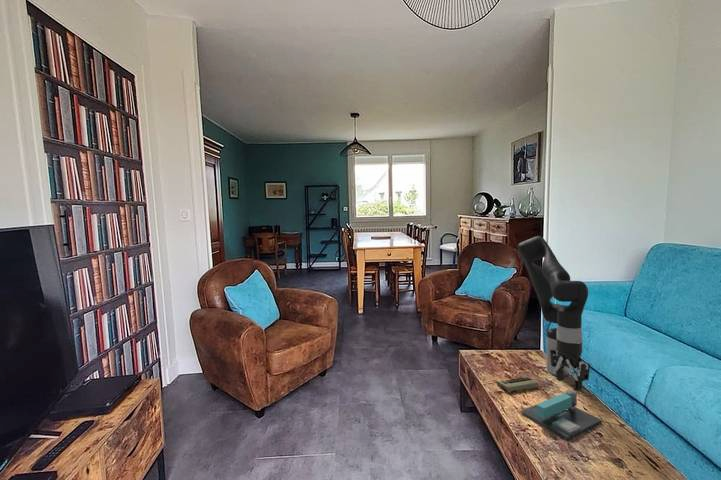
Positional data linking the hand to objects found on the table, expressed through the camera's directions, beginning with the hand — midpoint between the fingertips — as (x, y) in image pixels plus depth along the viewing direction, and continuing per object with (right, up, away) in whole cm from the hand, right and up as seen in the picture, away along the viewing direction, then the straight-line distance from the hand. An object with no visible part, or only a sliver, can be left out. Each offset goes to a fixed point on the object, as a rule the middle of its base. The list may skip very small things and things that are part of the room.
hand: (568, 385), depth 116 cm
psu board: (+3, -17, +10) cm, 20 cm away
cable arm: (+2, -14, +11) cm, 18 cm away
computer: (-2, -16, +34) cm, 38 cm away
